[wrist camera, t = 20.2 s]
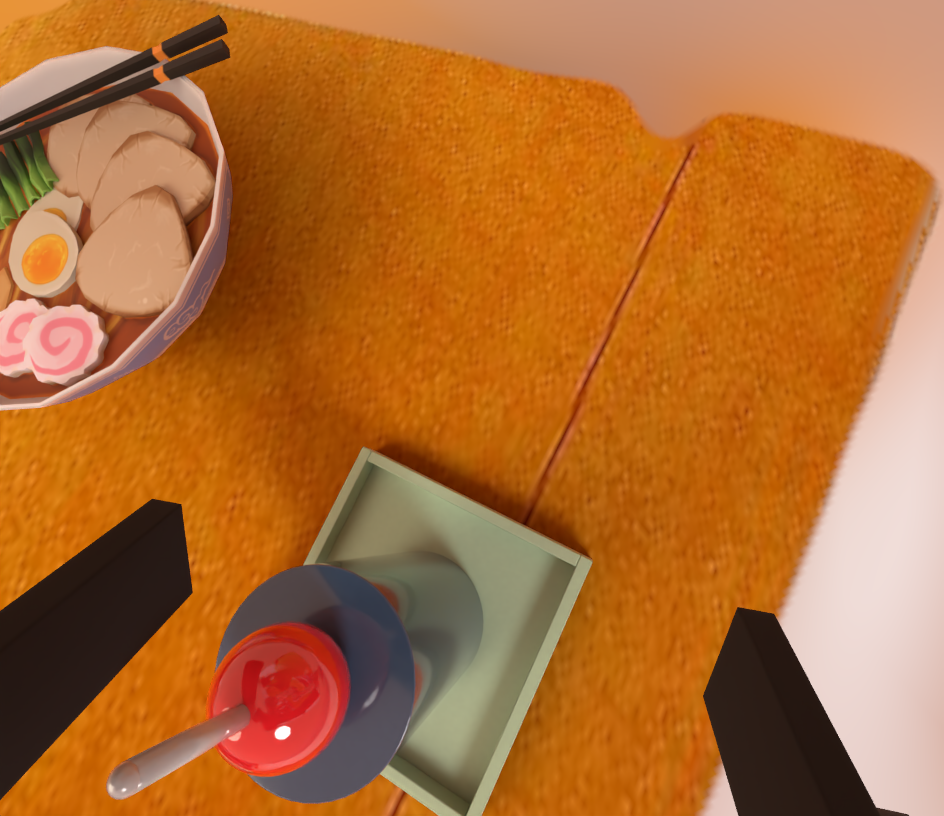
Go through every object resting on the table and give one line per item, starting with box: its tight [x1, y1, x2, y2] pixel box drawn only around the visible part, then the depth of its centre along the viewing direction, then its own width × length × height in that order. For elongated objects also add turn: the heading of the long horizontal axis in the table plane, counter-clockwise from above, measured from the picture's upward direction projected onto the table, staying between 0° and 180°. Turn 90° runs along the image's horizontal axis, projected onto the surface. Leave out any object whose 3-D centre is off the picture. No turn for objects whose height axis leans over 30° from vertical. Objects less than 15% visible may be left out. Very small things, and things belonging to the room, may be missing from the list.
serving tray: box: [303, 447, 593, 816], centre depth 26 cm, size 13×13×2 cm
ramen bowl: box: [0, 15, 233, 410], centre depth 32 cm, size 25×23×8 cm
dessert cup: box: [106, 551, 483, 803], centre depth 18 cm, size 7×7×18 cm
